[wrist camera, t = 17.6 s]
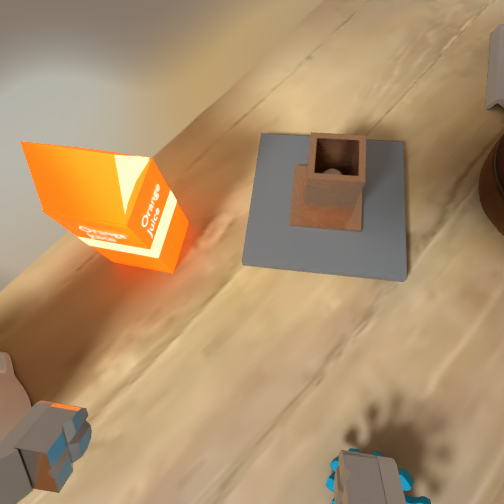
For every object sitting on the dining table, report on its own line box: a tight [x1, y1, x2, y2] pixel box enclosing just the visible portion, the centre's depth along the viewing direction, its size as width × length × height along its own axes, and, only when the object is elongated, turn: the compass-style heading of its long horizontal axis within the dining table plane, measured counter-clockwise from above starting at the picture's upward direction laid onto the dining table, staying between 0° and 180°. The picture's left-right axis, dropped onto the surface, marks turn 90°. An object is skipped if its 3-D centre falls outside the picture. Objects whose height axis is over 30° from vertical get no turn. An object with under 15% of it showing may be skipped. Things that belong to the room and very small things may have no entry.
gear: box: [326, 448, 431, 504], centre depth 32 cm, size 11×6×10 cm
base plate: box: [242, 133, 407, 282], centre depth 43 cm, size 20×20×6 cm
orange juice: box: [21, 141, 189, 273], centre depth 37 cm, size 8×9×20 cm
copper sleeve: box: [289, 132, 366, 232], centre depth 40 cm, size 9×9×9 cm
